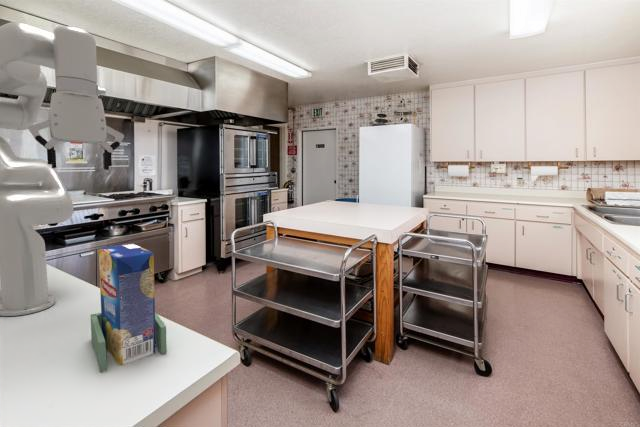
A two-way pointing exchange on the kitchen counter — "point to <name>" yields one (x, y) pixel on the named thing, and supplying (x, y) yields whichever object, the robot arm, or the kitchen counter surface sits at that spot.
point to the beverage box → (127, 301)
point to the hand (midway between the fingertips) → (81, 168)
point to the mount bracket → (100, 341)
